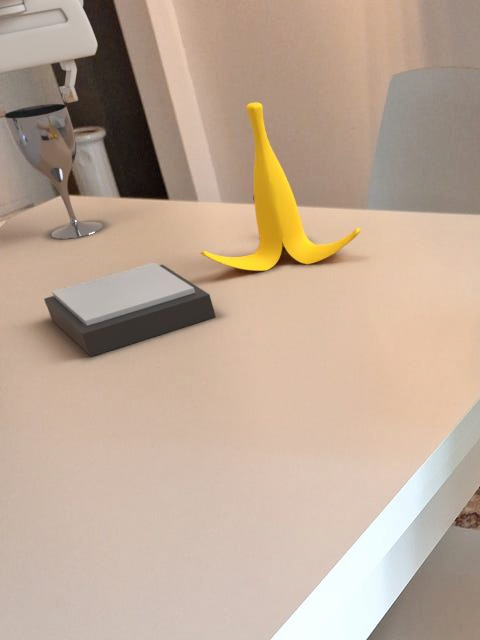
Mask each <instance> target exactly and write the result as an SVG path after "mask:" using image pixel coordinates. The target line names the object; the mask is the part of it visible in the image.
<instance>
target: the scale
mask: <svg viewBox="0 0 480 640" xmlns="http://www.w3.org/2000/svg"><path fill="white" fill-rule="evenodd" d="M51 293H52V295H51V296H48V297H45V298H43V300H44V303H45V305H46V307H47V310H48V313H49V315H50V318H51V321H53V323H54V324H56V325H57V326H58V327H59V328H60V329H61V330H62V332H64V333H65V334H66V335H67V336H69V337H70V339H72V341H74V342H75V343H76V344H77V346H79V347H80V348H81V349H82V350H83V351H84V352H85V353H86V354H87V355H88V356H89V357H91V358H93V357H94V356H98V355H102V354H105V353H109V352H110V351H114V350H118V349H119V348H124V347H127V346H130V345H133V344H135V343H138V342H142V341H145V340H148V339H152V338H155V337H157V336H161V335H164V334H167V333H170V332H173V331H176V330H180V329H183V328H185V327H189V326H191V325H195V324H198V323H201V322H204V321H207V320H210V319H214V318H216V312H215V309H214V306H213V302H212V299H211V294H210V293H208V292H207V291H205V290H203V289H202V288H200V287H199V286H198V285H196V284H194V283H192V282H191V281H190V280H187V279H186V278H185V277H184V276H181V275H180V274H178V273H177V272H175V271H174V270H172V269H170V268H169V267H167V266H166V265H164V264H157V263H156V262H149V263H147V264H143V265H140V266H137V267H133V268H129V269H126V270H122V271H119V272H115V273H112V274H108V275H104V276H101V277H98V278H95V279H90V280H88V281H84V282H81V283H76V284H73V285H70V286H66V287H63V288H59V289H56V290H52V291H51Z"/></svg>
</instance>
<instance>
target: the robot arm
mask: <svg viewBox="0 0 480 640" xmlns="http://www.w3.org/2000/svg"><path fill="white" fill-rule="evenodd" d="M98 46H99V45H98V41H97V38H96V35H95V33H94V30H93V27H92V25H91V22H90V20H89V18H88V16H87V13H86V11H85V9H84V0H0V75H3V74H7V73H14V72H19V71H22V70H29V69H32V68H37V67H42V66H47V65H52V64H57V63H59V65H60V68H61V70H63V71H66V72H65V80H64V85H62V86H61V85H60V86H59V87H58V88H59V92H60V94H62V99H63V101H64V103H66V104H70V103H74V102H79V97H78V93H77V92H76V88H75V85H76V78H77V72H78V68H77V64H76V61H75V60H78V59H82V58H87V57H92V56H95V55H96V53H97V51H98ZM4 117H6V111H5V110H4V105H3V102H2V101H1V100H0V119H2V118H4Z"/></svg>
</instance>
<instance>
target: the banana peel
mask: <svg viewBox="0 0 480 640" xmlns="http://www.w3.org/2000/svg"><path fill="white" fill-rule="evenodd" d="M263 109H264V107H263V104H262V103H260V102H256V101H255V102H250V103H247V105H245V110H246V112H247V115H248V118H249V120H250V123H251V128H252V131H253V138H254V161H253V162H254V164H253V196H252V199H253V203H254V210H255V212H254V213H255V219H256V225H257V231H258V236H259V243H258V247H257V248H256V250H255V252H254V253H252V254H248V255H243V256H223V255H218V254H214V253H211V252H209V251H207V250H202V251H200V255H202V256H204V257H206V258H208V259H210V260H212V261H215V262H217V263H219V264H221V265H224V266H228V267H230V268H236V269H239V270H244V271H255V272H260V271H261V272H262V271H263V272H264V271H268V270H270V269H271V268H273V267H274V266H275V265H276V264H277V263H278V261H279V259H280V257H281V255H282V251H283V248H284V249H285V250H286V252H287V253H288V254H289V255H290V257H291V258H293V259H294V260H295V261H297V262H298V263H301V264H304V265H311V264H314V263H317V262H320V261H323V260H325V259H327V258H329V257H331V256H333V255H335V254H336V253H337V252H339V251H340V250H341V249H343V248H344V247H345V246H347V245H348V244H349V243H350V242H352V241H353V240H354V239H355V238H356V237H357V236H358V235H359V234H360V232H362V229H361V228H355V229H354V230H353V231H352V232H351V233H349V234H348V235H346V236H345V237H343V238H341V239H339V240H337V241H334V242H330V243H326V244H315V243H314V242H312V241H311V240H310V239H309V238H308V236H307V235H306V233H305V231H304V228H303V223H302V219H301V215H300V212H299V208H298V204H297V201H296V199H295V196H294V193H293V190H292V188H291V185H290V182H289V181H288V179H287V176H286V174H285V172H284V169H283V167H282V165H281V163H280V162H279V160H278V158H277V156H276V154H275V151H274V150H273V148H272V146H271V143H270V141H269V138H268V135H267V132H266V131H267V130H266V127H265V121H264V110H263Z"/></svg>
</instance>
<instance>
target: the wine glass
mask: <svg viewBox="0 0 480 640" xmlns="http://www.w3.org/2000/svg"><path fill="white" fill-rule="evenodd" d="M3 119H4V123H5V125H6V128H7V130H8V132H9V134H10V137H11V140H12V142H13V143H14V145H15V147H16V149H17V150H18V152H19V153H20V155H21V157H22V158H23V160H24V161H25V162H26V163H27V165H29V166H30V167H31V168H32V169H34V170H35V171H36V172H37V173H39V174H41V175H42V176H43V177H45V178H46V179H47V180H48V181H50V183H51V184H52V185H53V186H54V187H55V188H56V190H57V192H58V193H59V196H60V197H61V200H62V201H63V205H64V206H65V208H66V211H67V215H68V217H69V222H68V224H66V225H64V226H61V227H58V228H57V229H55V230H53V231H52V232H51V234H50V236H51V238H54V239H58V240H69V239H76V238H77V239H78V238H81V237H82V238H83V237H85V236H89V235H92V234H95V233H96V232H99V231H100V230H102V229H103V227H104V225H103V224H102V223H101V222H98V221H80V220H78V219H77V216H76V214H75V212H74V208H73V205H72V203H71V198H70V194H69V189H68V182H69V181H68V180H69V176H70V173H71V170H72V167H73V165H74V162H75V160H76V156H77V143H76V137H75V132H74V126H73V123H72V120H71V116H70V114H69V111H68V108H67V105H66V104H63V103H46V104H39V105H33V106H27V107H23V108H18V109H15V110H11V111H9V112H7V113H6V117H3Z"/></svg>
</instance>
